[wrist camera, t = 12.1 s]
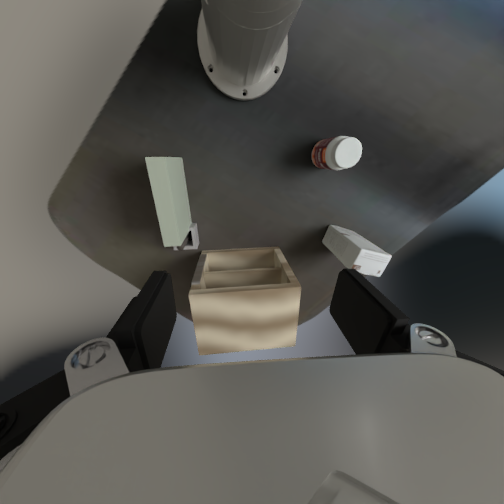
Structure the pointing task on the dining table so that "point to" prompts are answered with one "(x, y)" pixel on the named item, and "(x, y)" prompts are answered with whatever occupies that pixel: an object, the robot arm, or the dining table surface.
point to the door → (171, 201)
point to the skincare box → (356, 251)
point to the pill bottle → (336, 153)
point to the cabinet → (243, 300)
